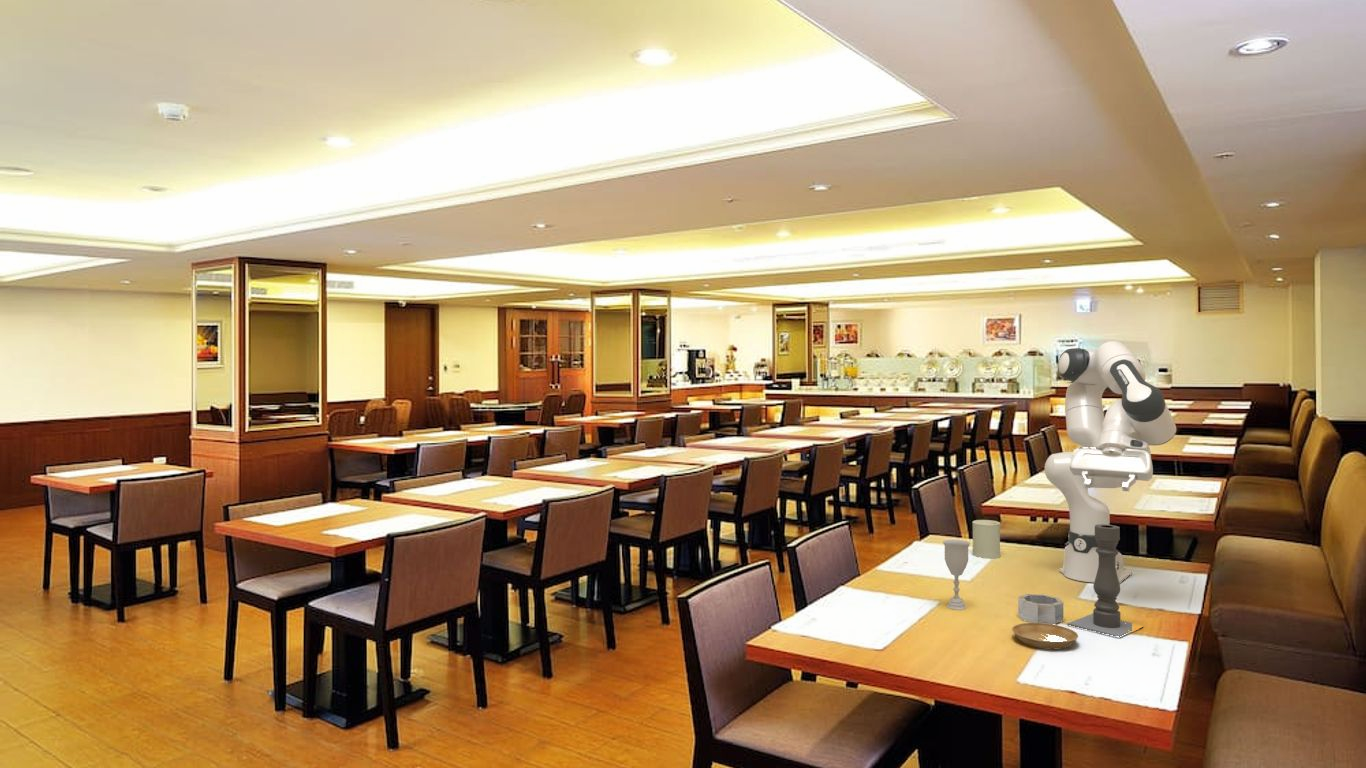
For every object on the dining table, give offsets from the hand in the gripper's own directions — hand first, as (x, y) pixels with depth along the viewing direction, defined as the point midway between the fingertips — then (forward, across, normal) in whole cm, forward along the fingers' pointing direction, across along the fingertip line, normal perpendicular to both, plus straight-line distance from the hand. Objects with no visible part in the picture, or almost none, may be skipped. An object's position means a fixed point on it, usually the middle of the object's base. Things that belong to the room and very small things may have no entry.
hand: (1105, 488), depth 226 cm
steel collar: (+36, -12, +12) cm, 39 cm away
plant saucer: (+48, -6, -1) cm, 49 cm away
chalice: (+38, -33, +9) cm, 51 cm away
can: (-8, -48, +55) cm, 74 cm away
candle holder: (+33, +4, +14) cm, 36 cm away
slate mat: (+34, +3, +14) cm, 36 cm away
